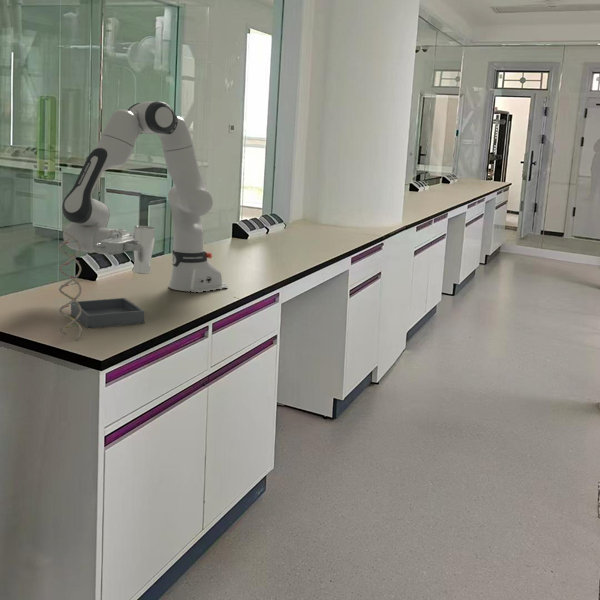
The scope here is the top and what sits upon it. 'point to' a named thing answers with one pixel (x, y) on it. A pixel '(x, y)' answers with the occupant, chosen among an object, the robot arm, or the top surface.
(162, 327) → the top surface
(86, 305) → the box
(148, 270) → the beer glass
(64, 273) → the dna model
